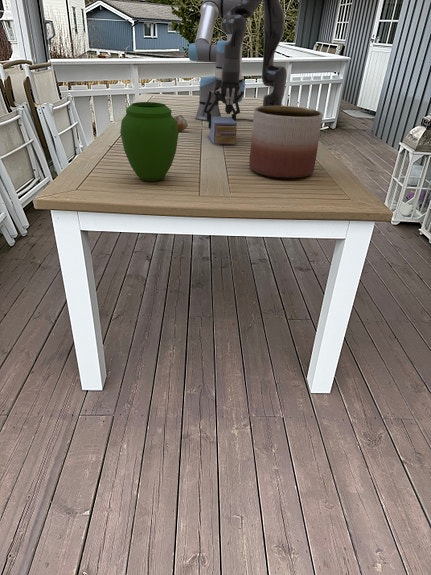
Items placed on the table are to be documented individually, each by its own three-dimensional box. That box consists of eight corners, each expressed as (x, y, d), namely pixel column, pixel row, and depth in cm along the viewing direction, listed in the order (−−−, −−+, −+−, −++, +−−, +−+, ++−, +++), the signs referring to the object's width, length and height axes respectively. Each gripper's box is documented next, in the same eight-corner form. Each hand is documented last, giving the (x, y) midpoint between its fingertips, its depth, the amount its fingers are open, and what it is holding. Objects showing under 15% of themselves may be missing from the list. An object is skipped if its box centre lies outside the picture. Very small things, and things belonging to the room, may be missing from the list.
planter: (323, 180, 153) (335, 117, 141) (257, 181, 149) (264, 116, 137) (300, 162, 174) (309, 106, 162) (242, 162, 170) (247, 104, 158)
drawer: (237, 146, 190) (238, 128, 186) (217, 146, 188) (218, 128, 184) (229, 136, 206) (230, 120, 202) (211, 136, 205) (212, 120, 201)
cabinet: (235, 144, 197) (236, 123, 192) (213, 144, 195) (214, 122, 190) (229, 136, 210) (230, 116, 205) (209, 136, 209) (209, 116, 204)
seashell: (187, 130, 219) (187, 114, 215) (188, 132, 214) (188, 116, 210) (169, 129, 218) (169, 113, 214) (170, 131, 213) (169, 115, 209)
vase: (131, 189, 135) (125, 110, 122) (118, 172, 150) (112, 100, 137) (186, 184, 142) (187, 109, 129) (169, 168, 157) (167, 99, 144)
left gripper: (199, 78, 187) (198, 129, 199) (249, 80, 191) (245, 130, 203) (197, 77, 194) (196, 126, 205) (245, 78, 197) (241, 127, 209)
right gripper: (217, 70, 171) (215, 114, 180) (248, 71, 173) (244, 115, 182) (214, 68, 177) (212, 111, 186) (244, 70, 179) (241, 112, 188)
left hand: (220, 128), depth 204 cm, fingers closed on cabinet, 11 cm apart
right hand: (228, 113), depth 184 cm, fingers closed
